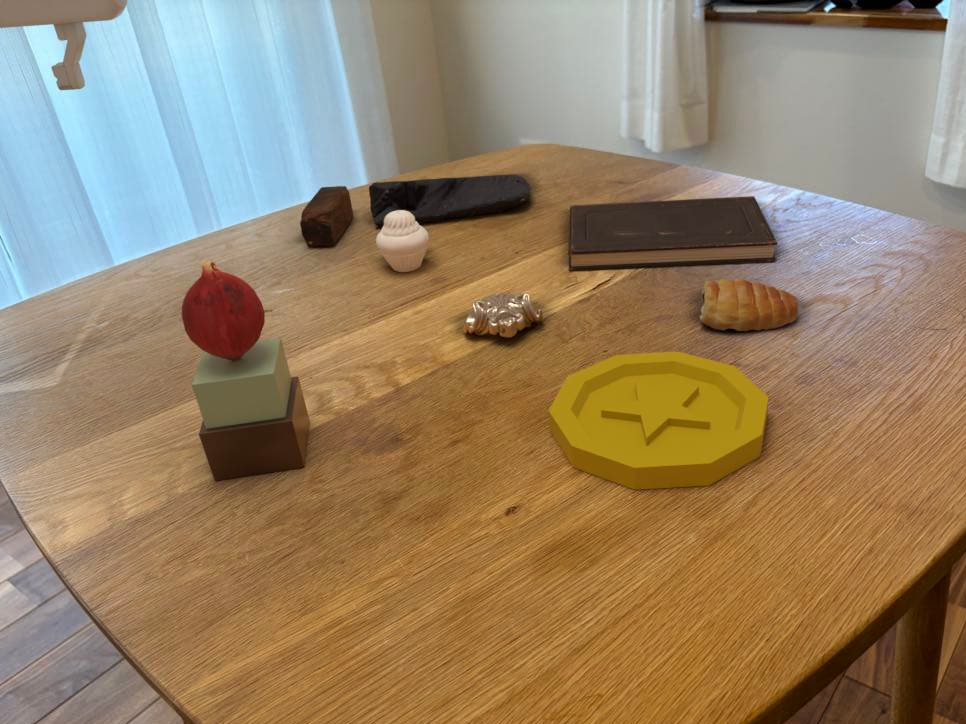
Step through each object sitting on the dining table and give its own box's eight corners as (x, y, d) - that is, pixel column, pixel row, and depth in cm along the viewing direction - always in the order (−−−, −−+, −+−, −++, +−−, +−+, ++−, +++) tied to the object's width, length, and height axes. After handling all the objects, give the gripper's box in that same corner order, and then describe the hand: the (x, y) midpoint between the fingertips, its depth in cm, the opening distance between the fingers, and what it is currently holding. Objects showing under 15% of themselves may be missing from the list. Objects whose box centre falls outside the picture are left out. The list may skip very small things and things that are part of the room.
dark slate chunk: (533, 218, 112) (530, 182, 110) (365, 231, 113) (359, 196, 110) (529, 181, 125) (527, 149, 123) (379, 193, 126) (374, 161, 123)
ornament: (470, 354, 82) (466, 320, 80) (459, 323, 88) (455, 291, 86) (551, 340, 83) (549, 306, 81) (535, 311, 89) (533, 278, 87)
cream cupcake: (419, 279, 98) (410, 220, 94) (371, 275, 100) (360, 218, 96) (441, 258, 103) (433, 201, 99) (395, 255, 105) (386, 199, 101)
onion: (289, 355, 66) (264, 258, 62) (222, 386, 63) (190, 286, 59) (249, 334, 70) (223, 241, 65) (184, 363, 66) (152, 266, 62)
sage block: (206, 429, 66) (191, 384, 63) (217, 390, 71) (204, 347, 68) (285, 417, 66) (273, 372, 64) (291, 379, 71) (280, 336, 69)
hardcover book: (775, 261, 95) (777, 242, 94) (568, 271, 97) (567, 251, 96) (752, 212, 109) (753, 194, 108) (571, 221, 111) (570, 203, 109)
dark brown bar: (326, 219, 118) (319, 186, 115) (354, 218, 117) (348, 184, 115) (304, 249, 109) (296, 214, 106) (335, 248, 108) (327, 212, 106)
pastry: (792, 303, 87) (796, 268, 84) (801, 335, 81) (805, 298, 79) (698, 304, 88) (699, 269, 86) (700, 335, 82) (701, 299, 80)
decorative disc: (511, 422, 72) (508, 402, 71) (666, 352, 80) (666, 332, 79) (647, 520, 60) (647, 498, 59) (812, 426, 68) (815, 405, 67)
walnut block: (214, 481, 67) (198, 434, 65) (226, 432, 73) (212, 387, 71) (304, 467, 68) (291, 420, 66) (309, 420, 74) (298, 375, 72)
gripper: (-271, -113, 53) (-164, 115, 61) (73, -130, 56) (136, 91, 63) (-212, -114, 59) (-121, 95, 66) (99, -130, 61) (154, 74, 68)
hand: (7, 93), depth 65 cm, fingers open, 8 cm apart
